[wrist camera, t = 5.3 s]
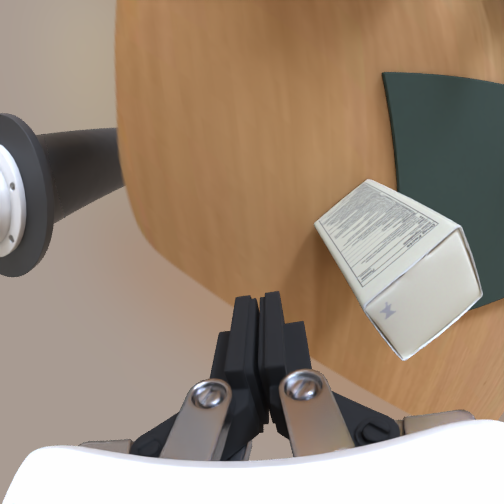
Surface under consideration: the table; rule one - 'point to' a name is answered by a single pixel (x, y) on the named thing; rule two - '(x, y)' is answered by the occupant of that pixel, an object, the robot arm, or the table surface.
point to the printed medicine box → (401, 264)
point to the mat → (454, 159)
